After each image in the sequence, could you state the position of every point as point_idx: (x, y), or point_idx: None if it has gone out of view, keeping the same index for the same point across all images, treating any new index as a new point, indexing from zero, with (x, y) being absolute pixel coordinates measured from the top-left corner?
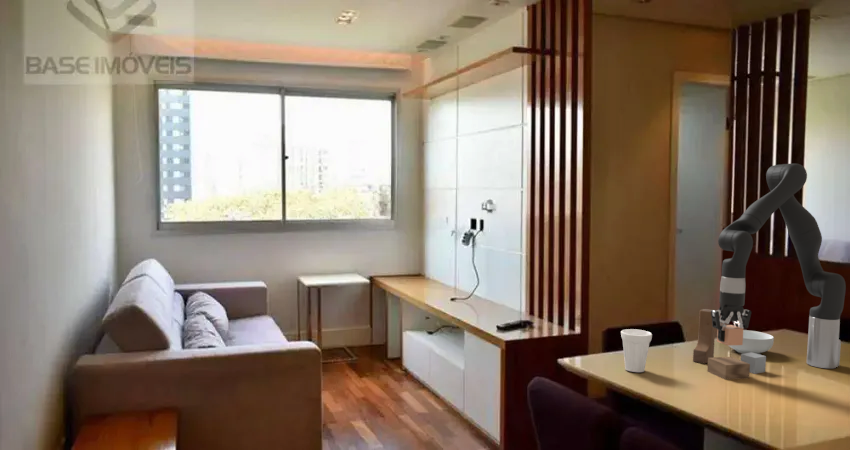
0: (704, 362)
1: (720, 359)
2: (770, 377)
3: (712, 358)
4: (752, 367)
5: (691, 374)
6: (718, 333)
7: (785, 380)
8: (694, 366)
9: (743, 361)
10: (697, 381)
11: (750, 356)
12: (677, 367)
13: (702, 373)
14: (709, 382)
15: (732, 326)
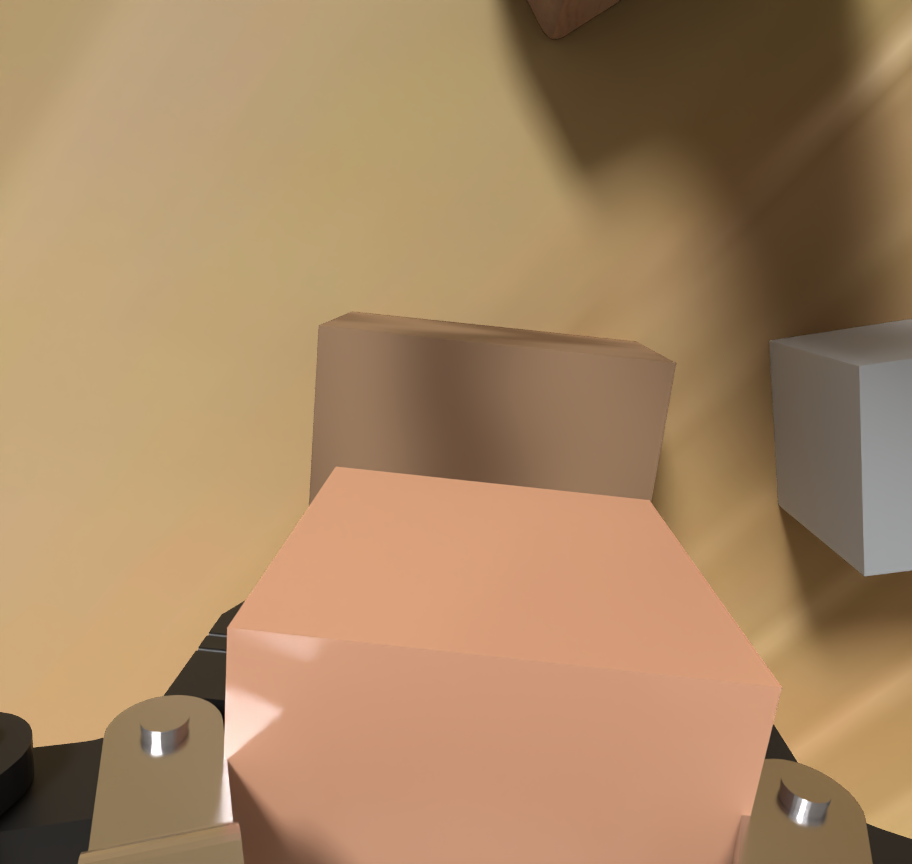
0: (545, 29)
1: (420, 438)
2: (819, 632)
3: (351, 371)
4: (801, 499)
5: (114, 356)
6: (184, 686)
7: (866, 731)
8: (346, 100)
9: (815, 394)
10: (36, 551)
11: (868, 504)
12: (118, 85)
13: (251, 357)
14: (128, 601)
15: (582, 861)
